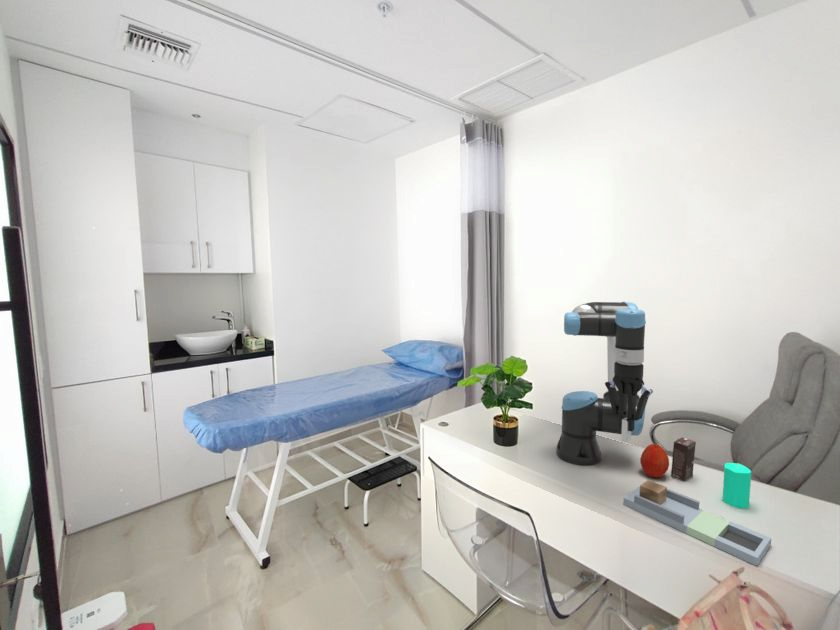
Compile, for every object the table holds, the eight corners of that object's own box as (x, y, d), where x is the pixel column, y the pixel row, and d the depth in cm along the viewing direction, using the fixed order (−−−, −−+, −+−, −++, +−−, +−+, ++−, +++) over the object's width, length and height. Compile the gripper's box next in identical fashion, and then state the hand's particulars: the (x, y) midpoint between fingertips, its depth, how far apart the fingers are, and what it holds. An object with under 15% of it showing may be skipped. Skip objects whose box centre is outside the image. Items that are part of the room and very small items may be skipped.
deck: (623, 504, 112) (623, 491, 111) (641, 491, 118) (642, 478, 118) (756, 566, 88) (758, 549, 87) (770, 545, 94) (772, 530, 93)
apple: (672, 483, 122) (674, 450, 121) (643, 479, 125) (644, 447, 123) (664, 470, 130) (666, 439, 129) (637, 467, 132) (638, 437, 131)
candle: (724, 494, 116) (727, 455, 114) (750, 502, 111) (753, 462, 110) (720, 502, 112) (722, 462, 110) (746, 511, 107) (749, 470, 106)
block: (639, 498, 111) (639, 485, 110) (647, 492, 114) (648, 479, 113) (658, 506, 107) (658, 493, 106) (666, 500, 110) (666, 487, 109)
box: (686, 482, 122) (687, 446, 121) (670, 476, 126) (672, 441, 125) (694, 476, 126) (696, 441, 124) (679, 470, 129) (680, 436, 128)
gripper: (600, 360, 116) (598, 436, 118) (646, 368, 105) (643, 451, 108) (613, 357, 120) (611, 430, 122) (658, 364, 110) (655, 444, 112)
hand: (626, 440), depth 115 cm, fingers closed
